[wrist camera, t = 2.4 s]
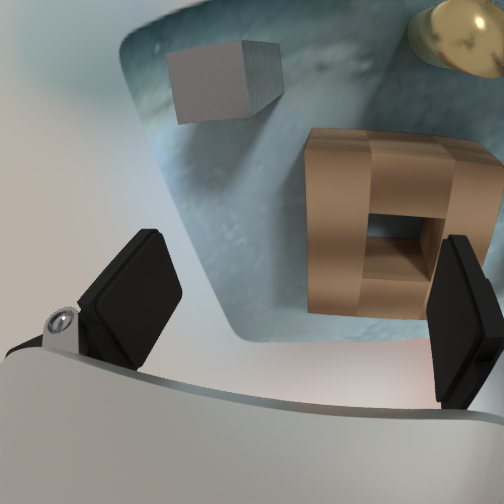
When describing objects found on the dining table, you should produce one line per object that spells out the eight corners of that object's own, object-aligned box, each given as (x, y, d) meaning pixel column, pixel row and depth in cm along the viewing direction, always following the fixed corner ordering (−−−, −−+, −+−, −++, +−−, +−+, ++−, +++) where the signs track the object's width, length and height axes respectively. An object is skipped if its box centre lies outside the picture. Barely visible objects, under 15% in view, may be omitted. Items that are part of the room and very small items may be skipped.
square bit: (228, 49, 21) (166, 53, 14) (279, 43, 20) (240, 40, 12) (234, 95, 24) (178, 124, 16) (284, 92, 22) (250, 117, 15)
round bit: (404, 6, 16) (438, -15, 9) (460, 16, 14) (515, 7, 7) (408, 62, 18) (444, 69, 11) (463, 71, 17) (518, 86, 10)
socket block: (312, 128, 24) (303, 150, 19) (477, 141, 20) (508, 168, 15) (315, 269, 32) (307, 312, 27) (448, 277, 28) (460, 320, 23)
